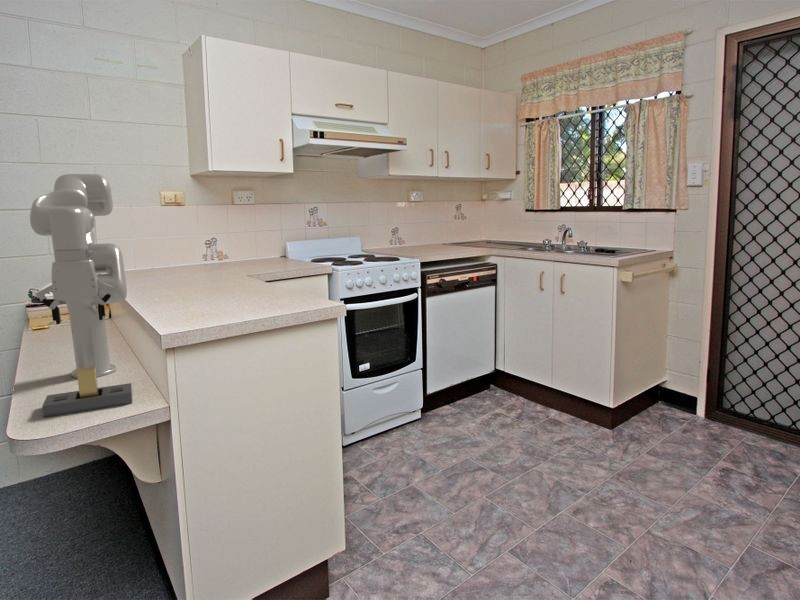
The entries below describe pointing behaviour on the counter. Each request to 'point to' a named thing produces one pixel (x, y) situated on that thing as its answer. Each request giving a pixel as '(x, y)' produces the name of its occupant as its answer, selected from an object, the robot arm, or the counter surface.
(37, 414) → the counter surface
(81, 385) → the brass peg
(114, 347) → the counter surface
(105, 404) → the grey peg hole board
